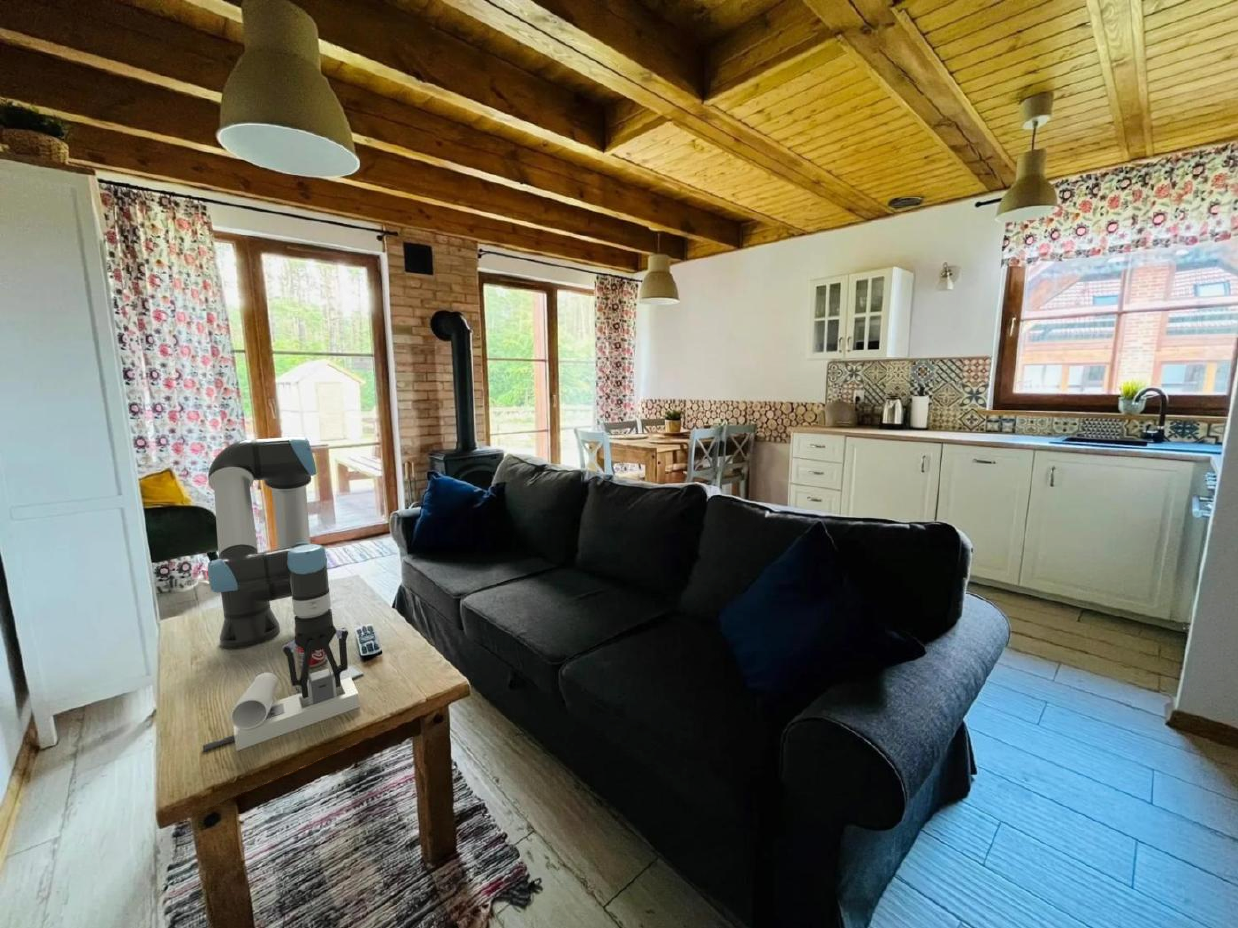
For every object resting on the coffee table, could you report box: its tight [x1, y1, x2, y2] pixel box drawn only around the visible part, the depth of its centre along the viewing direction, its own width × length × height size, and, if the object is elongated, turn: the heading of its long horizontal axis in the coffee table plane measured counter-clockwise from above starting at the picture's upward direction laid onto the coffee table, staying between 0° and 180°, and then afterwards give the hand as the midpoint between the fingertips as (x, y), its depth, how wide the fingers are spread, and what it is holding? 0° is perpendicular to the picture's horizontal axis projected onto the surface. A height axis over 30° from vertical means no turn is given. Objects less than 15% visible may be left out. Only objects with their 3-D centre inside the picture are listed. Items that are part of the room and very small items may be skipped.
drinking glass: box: [230, 672, 279, 729], centre depth 116 cm, size 7×7×15 cm
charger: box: [308, 668, 334, 705], centre depth 121 cm, size 4×4×8 cm
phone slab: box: [295, 663, 365, 694], centre depth 134 cm, size 7×14×1 cm, turn 140°
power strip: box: [202, 677, 361, 752], centre depth 117 cm, size 30×9×4 cm, turn 128°
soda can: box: [294, 627, 328, 669], centre depth 143 cm, size 7×7×13 cm
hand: (323, 703), depth 122 cm, fingers closed on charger, 4 cm apart
